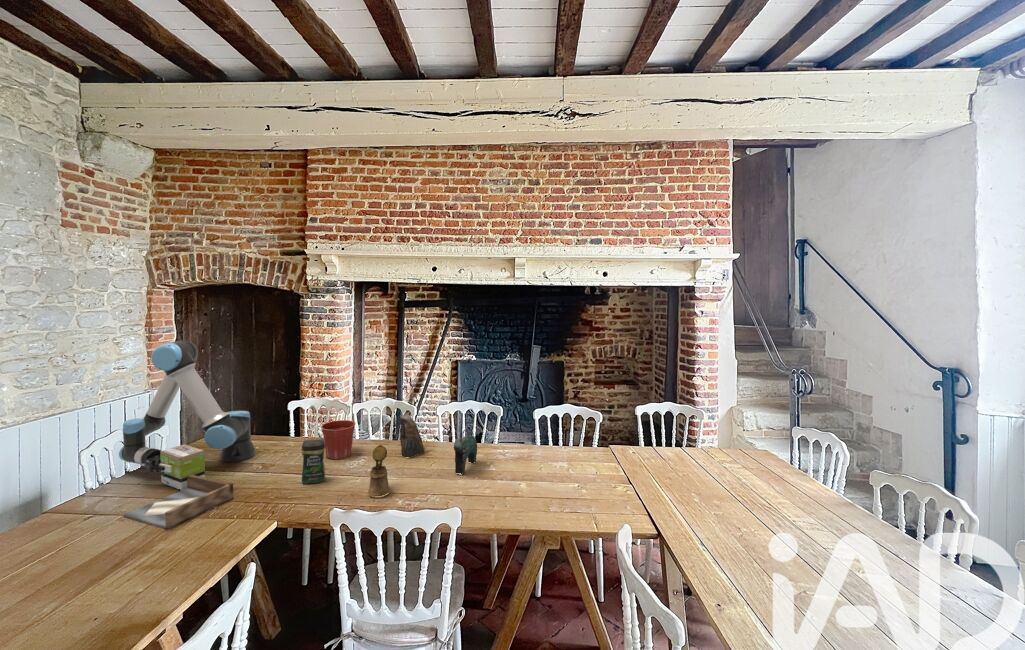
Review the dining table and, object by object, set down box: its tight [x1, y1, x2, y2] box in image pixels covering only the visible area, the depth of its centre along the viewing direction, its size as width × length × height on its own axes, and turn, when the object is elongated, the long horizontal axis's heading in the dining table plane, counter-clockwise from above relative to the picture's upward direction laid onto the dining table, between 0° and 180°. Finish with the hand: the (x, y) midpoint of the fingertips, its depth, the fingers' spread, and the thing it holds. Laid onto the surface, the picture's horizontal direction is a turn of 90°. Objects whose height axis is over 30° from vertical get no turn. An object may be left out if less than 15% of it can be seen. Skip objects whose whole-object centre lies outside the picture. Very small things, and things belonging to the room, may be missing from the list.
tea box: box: [160, 443, 206, 491], centre depth 191 cm, size 15×10×15 cm, turn 65°
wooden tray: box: [123, 475, 234, 530], centre depth 172 cm, size 25×24×6 cm
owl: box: [398, 412, 425, 458], centre depth 231 cm, size 13×13×20 cm
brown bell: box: [367, 444, 391, 497], centre depth 188 cm, size 9×14×18 cm, turn 13°
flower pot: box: [320, 419, 356, 460], centre depth 226 cm, size 16×16×16 cm
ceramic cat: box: [453, 428, 478, 474], centre depth 213 cm, size 20×6×20 cm, turn 161°
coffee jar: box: [301, 438, 326, 485], centre depth 196 cm, size 10×8×19 cm
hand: (184, 464), depth 191 cm, fingers closed on tea box, 10 cm apart
